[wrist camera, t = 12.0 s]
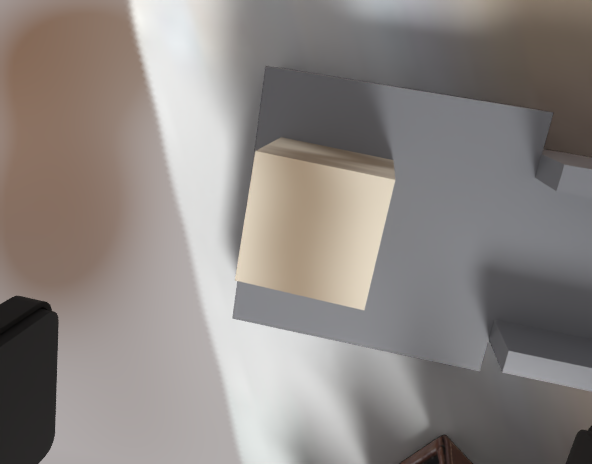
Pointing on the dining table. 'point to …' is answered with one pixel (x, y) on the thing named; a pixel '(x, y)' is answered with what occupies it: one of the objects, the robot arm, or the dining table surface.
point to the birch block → (315, 221)
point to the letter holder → (438, 453)
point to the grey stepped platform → (449, 229)
